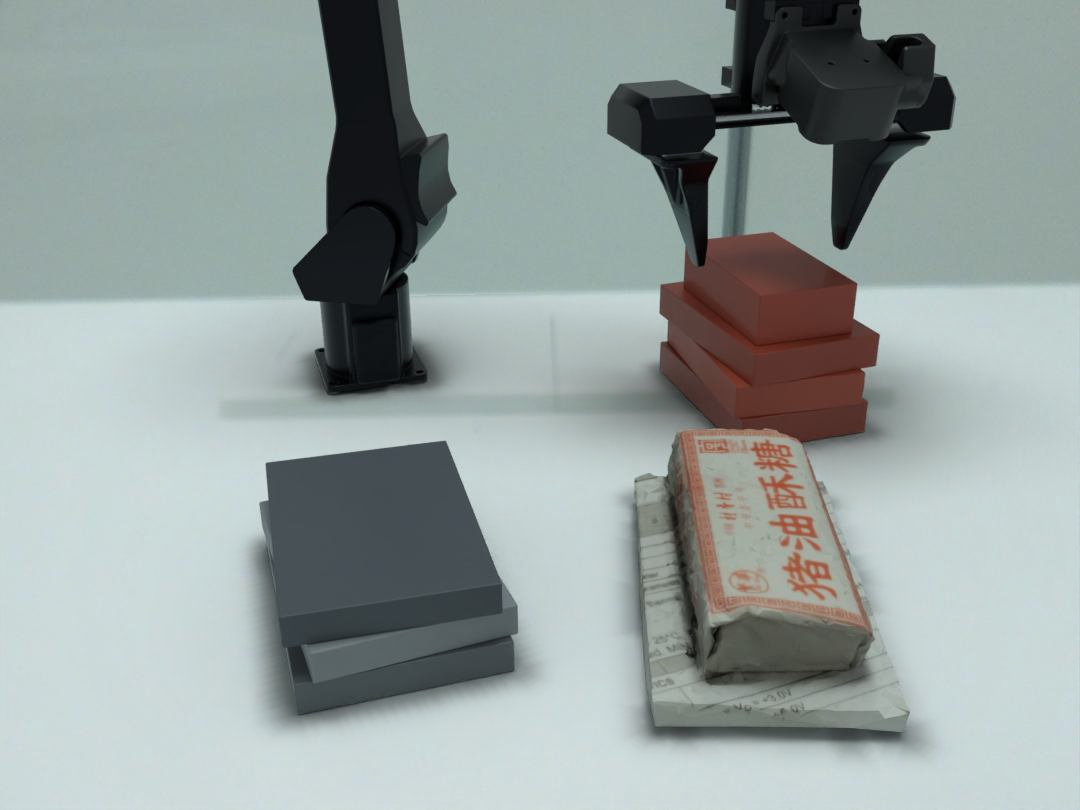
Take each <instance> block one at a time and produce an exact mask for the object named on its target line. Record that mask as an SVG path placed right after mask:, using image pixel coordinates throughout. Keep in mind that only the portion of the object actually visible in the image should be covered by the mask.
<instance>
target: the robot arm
mask: <svg viewBox="0 0 1080 810" xmlns="http://www.w3.org/2000/svg"><path fill="white" fill-rule="evenodd" d="M860 2H861V0H725V7H724V8H725V9H726V10H730V11H734V12H735V18H734V30H733V31H734V32H733V33H734V34H733V46H732V47H733V50H732V62H731V63H732V64H731V65H723V66H721V75H720V76H721V77H720V86H723V87H726V88H728V89H730V92H722V93H708V92H706V91H703V90H701V89H699V88H697V87H694V86H692V85H689V84H688V83H685V82H682V81H680V80H679V79H667V80H654V81H653V80H652V81H639V82H637V81H636V82H624V83H623V82H622V83H619V84H618V85H617V87H616V88H615V89H614V91H613V93H612V94H611V95H610V97H609V101H607V104H606V105H607V108H606V109H607V111H606V112H607V113H606V123H607V124H606V134H607V135H609V136H610V137H612V138H614V140H617V141H618V142H620V143H622V144H623V145H625V146H627V147H629V149H631V150H632V151H634V152H635V153H637V154H639V155H640V156H642V157H644V158H645V159H647V160H648V161H650V163H651V166H652V167H653V169H654V171H655V173H656V175H657V177H658V179H659V181H660V183H661V185H662V187H663V189H664V191H665V194H666V195H667V199H668V201H669V204H670V206H671V207H670V208H671V210H672V213H673V215H674V218H675V221H676V223H677V226H678V229H679V231H680V235H681V237H682V240H683V243H684V247H685V246H686V248H687V251H688V254H689V257H690V259H691V261H692V263H693V264H695V265H696V266H697V267H702V266H704V265H705V260H706V253H707V246H708V239H709V181H710V178H711V176H712V174H713V172H714V170H715V167H716V166H717V163H718V161H719V156H717V155H715V154H714V153H711V152H709V151H707V150H705V148H706V147H707V145H708V144H709V143H710V142H711V141H712V140H713V139H714V138H715V137H716V130H726V129H727V130H728V129H739V128H751V127H760V126H761V127H762V126H774V125H786V124H796V126H797V131H798V132H799V134H800V135H801V137H803V138H804V139H805V140H807V141H808V142H810V143H813V144H816V145H820V146H831V145H832V168H831V173H832V174H831V197H830V198H831V203H830V227H831V228H830V229H831V239H832V241H831V242H832V245H833V247H834V248H836V249H838V250H839V251H847V250H848V249H849V247H850V245H851V243H852V241H853V239H854V237H855V235H856V233H857V231H858V229H859V227H860V225H861V223H862V221H863V220H864V217H865V215H866V213H867V211H868V209H869V207H870V205H871V203H872V201H873V198H874V197H875V195H876V193H877V191H878V189H879V187H880V186H881V184H882V182H883V181H884V179H885V177H886V176H887V174H888V173H889V171H890V170H891V168H892V166H893V165H894V164H895V163H896V162H897V161H898V160H900V159H901V158H902V157H904V156H905V155H907V154H908V153H909V152H911V151H912V150H913V149H915V148H917V147H924V146H926V145H927V144H928V143H929V142H930V140H931V138H932V136H931V135H930V134H927V133H929V132H939V131H949V130H951V129H952V127H953V122H954V115H955V109H956V102H957V96H956V94H955V91H954V89H953V86H952V84H951V82H950V80H949V78H948V76H947V75H943V74H939V73H936V72H935V63H936V49H937V48H936V46H937V45H936V44H935V43H934V42H933V41H932V39H930V38H929V37H928V36H926V34H924V33H922V32H917V33H902V34H901V33H900V34H893V35H891V36H889V37H888V39H887V40H886V39H883V38H881V39H880V38H879V39H867V38H865V37H864V36H863V31H862V26H861V21H862V11H863V10H862V9H863V8H862V6H861V5H860ZM317 5H318V11H319V16H320V24H321V29H322V36H323V43H324V50H325V55H326V56H325V57H326V62H327V68H328V76H329V81H330V87H331V94H332V95H331V96H332V101H333V105H334V106H333V108H334V113H335V114H334V115H335V126H334V127H335V128H334V134H333V139H332V145H331V150H330V155H329V161H328V166H327V172H326V176H325V177H326V178H325V230H326V233H325V234H324V235H323V236H322V237H321V239H319V240H318V242H317V243H315V244H314V246H313V247H312V248H311V249H309V251H308V252H307V253H306V254H305V255H304V256H303V257H302V258H301V259H300V260H299V261H298V262H297V263H296V264H295V265H294V266H293V267H292V271H291V272H292V275H293V277H294V280H295V281H296V284H297V286H298V289H299V290H300V293H301V294H302V297H303V299H304V301H307V302H319V308H320V319H321V327H322V337H323V339H322V340H323V347H318V348H316V349H314V358H315V360H316V361H315V362H316V364H317V366H318V367H317V368H318V369H319V372H320V375H321V379H322V382H323V384H324V387H325V391H326V392H328V393H340V392H349V391H355V390H363V389H371V388H377V387H378V388H380V387H387V386H393V385H401V384H408V383H416V382H423V381H425V380H427V379H428V378H429V377H428V376H429V375H428V369H427V368H426V366H425V364H424V361H422V359H421V357H420V355H419V353H418V351H417V349H416V348H415V346H414V344H413V331H412V313H411V298H410V296H411V295H410V283H409V282H410V281H409V280H410V279H409V275H408V274H407V273H406V272H405V271H406V270H407V269H408V268H409V267H410V266H411V265H412V264H414V263H415V262H416V261H417V260H418V258H419V255H420V252H421V250H422V249H423V248H424V247H425V246H426V245H427V244H428V243H429V242H430V241H431V239H432V238H433V237H434V236H435V235H436V234H437V232H438V231H439V230H440V229H441V228H442V226H443V224H444V223H445V221H446V217H447V216H448V205H449V203H451V202H452V200H453V199H454V198H455V197H456V196H457V195H458V192H457V190H456V188H455V186H454V183H452V179H451V175H450V172H449V150H450V143H449V135H448V134H447V133H445V132H442V133H438V134H435V135H434V134H433V135H429V136H427V135H426V132H425V131H424V129H423V127H422V125H421V123H420V121H419V119H418V117H417V116H416V113H415V111H414V108H413V105H412V99H411V94H410V85H409V77H408V69H407V63H406V54H405V53H406V52H405V46H404V37H403V30H402V24H401V23H402V22H401V15H400V7H399V0H317ZM753 107H755V108H756V109H753ZM763 107H764V108H763ZM762 108H763V109H762ZM926 132H927V133H926Z"/></svg>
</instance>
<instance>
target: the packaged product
mask: <svg viewBox="0 0 1080 810" xmlns="http://www.w3.org/2000/svg"><path fill="white" fill-rule="evenodd" d="M633 483H634V485H633V496H634V501H635V505H636V524H637V525H636V526H637V529H636V530H637V550H638V552H637V553H638V561H639V563H638V564H639V594H640V610H641V611H640V612H641V624H642V625H641V626H642V640H643V652H644V654H643V655H644V667H645V681H646V689H647V695H648V700H649V703H650V708H651V713H652V714H651V715H652V719H653V724H654V727H754V728H755V727H761V728H764V727H766V728H831V729H833V728H834V729H835V728H836V729H837V728H839V729H840V728H841V729H859V730H872V731H883V732H884V731H885V732H893V733H894V732H895V733H903V732H904V729H905V728H906V724H907V723H908V719H909V717H910V714H911V710H910V709H909V706H908V704H907V702H906V700H905V697H904V694H903V691H902V689H901V685H900V680H899V677H898V674H897V672H896V670H895V668H894V667H895V666H894V665H893V662H892V660H891V658H890V656H889V655H888V652H887V649H886V646H885V643H884V641H883V638H882V635H881V632H880V628H879V626H878V623H877V621H876V617H875V615H874V612H873V610H872V606H871V603H870V601H869V599H868V596H867V594H866V590H865V588H864V586H863V581H862V579H861V576H860V574H859V571H858V568H857V567H856V566H855V565H854V564H853V563H852V561H851V551H850V549H849V546H848V544H847V541H846V538H845V536H844V535H845V534H844V532H843V530H842V528H841V526H840V524H839V522H838V518H837V514H836V512H835V508H834V507H833V503H832V501H831V498H830V496H829V493H828V489H827V488H826V485H825V483H824V481H823V480H819V481H817V479H816V475H815V472H814V468H813V466H812V464H811V461H810V458H809V457H808V452H807V450H806V448H805V446H804V445H803V444H802V442H800V441H798V440H797V439H796V438H793V437H790V436H788V435H786V434H782V433H779V432H778V431H777V430H772V429H766V428H765V429H763V430H754V429H744V430H736V429H730V430H727V429H718V428H706V429H704V428H703V429H691V428H689V429H687V428H686V429H681V430H678V431H676V433H675V437H674V441H673V443H672V444H671V453H670V455H669V458H668V463H667V474H666V475H665V476H663V475H656V474H655V475H654V474H652V473H651V472H647V473H644V474H642V475H639V476H637V477H634V481H633Z"/></svg>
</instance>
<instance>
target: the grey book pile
mask: <svg viewBox="0 0 1080 810" xmlns="http://www.w3.org/2000/svg"><path fill="white" fill-rule="evenodd" d="M264 466H265V476H266V477H265V478H266V487H267V499H268V500H262V501H259V504H258V505H259V512H260V519H261V528H262V531H263V534H264V537H265V542H266V548H267V555H268V559H269V565H270V570H271V576H272V582H273V588H274V593H275V598H276V608H277V609H276V610H277V620H278V627H279V628H278V629H279V634H280V635H279V636H280V643H281V647H282V648H283V649H285V655H286V660H287V665H288V671H289V675H290V676H289V677H290V682H291V688H292V695H293V700H294V704H295V710H296V714H297V715H299V716H300V715H305V714H309V713H313V712H318V711H323V710H327V709H332V708H338V707H343V706H347V705H352V704H357V703H361V702H366V701H371V700H376V699H381V698H385V697H390V696H391V697H392V696H397V695H401V694H405V693H406V694H407V693H411V692H415V691H420V690H425V689H430V688H434V687H435V688H436V687H439V686H445V685H449V684H454V683H460V682H464V681H468V680H474V679H478V678H483V677H488V676H492V675H497V674H503V673H507V672H512V671H515V642H514V640H513V637H512V636H515V635H517V634H518V633H519V611H518V604H517V601H516V600H515V599H514V597H513V596H512V594H511V592H510V590H509V589H508V588H507V585H506V584H505V582H504V581H503V580H502V578H501V576H500V574H499V573H498V570H497V568H496V565H495V562H494V560H493V557H492V555H491V551H490V550H489V547H488V544H487V542H486V540H485V537H484V534H483V532H482V528H481V526H480V524H479V520H478V519H477V516H476V514H475V511H474V509H473V506H472V504H471V500H470V499H469V496H468V493H467V491H466V489H465V485H464V483H463V480H462V477H461V474H460V473H459V471H458V470H459V469H458V467H457V465H456V463H455V460H454V457H453V455H452V452H451V449H450V447H449V443H448V442H447V440H438V441H430V442H421V443H414V444H406V445H398V446H390V447H382V448H381V447H380V448H374V449H365V450H356V451H349V452H342V453H341V452H340V453H333V454H324V455H317V456H315V455H314V456H310V457H308V456H307V457H301V458H300V457H299V458H291V459H284V460H277V461H276V460H275V461H269V462H268V461H267V462H265V465H264Z"/></svg>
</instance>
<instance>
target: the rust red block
mask: <svg viewBox="0 0 1080 810" xmlns="http://www.w3.org/2000/svg"><path fill="white" fill-rule="evenodd" d="M684 247H685V248H684V266H683V267H684V268H683V281H684V285H683V287H684V288H685V289H687V290H688V291H689V292H690V293H692V294H693V295H694V296H695V297H697V298H698V299H699V300H700V301H702V302H703V303H704V304H705V305H706V306H708V307H709V308H710V309H711V310H713V311H714V312H715V313H716V314H718V315H719V316H720V317H721V318H723V319H724V320H725V321H726V322H728V323H729V324H730V325H731V326H732V327H734V328H735V329H736V330H737V331H739V332H740V333H741V334H742V335H744V336H745V337H746V338H747V339H749V340H750V341H751V342H752V343H753V344H755V345H756V346H760V345H767V344H774V343H781V342H789V341H796V340H803V339H811V338H818V337H825V336H832V335H840V334H847V333H852V326H853V318H854V317H855V309H856V299H857V292H858V282H856V281H855V280H853V279H851V278H849V277H848V276H846V275H845V274H843V273H841V272H840V271H838V270H836V268H835V269H834V268H833V267H831V266H830V265H828V264H826V263H825V262H823V261H822V260H820V259H818V258H817V257H815V256H813V255H811V254H810V253H808V252H807V251H805V250H804V249H802V248H800V247H798V246H797V245H795V244H794V243H792V242H791V241H788V240H787V239H785V238H784V237H782V236H781V235H779V234H777V233H775V232H774V231H768V232H760V233H749V234H740V235H732V236H731V235H730V236H724V237H723V236H722V237H714V238H708V246H707V253H706V260H705V265H704V266H702V267H697V266H696V265H695V264H693V263H692V261H691V259H690V257H689V254H688V251H687V248H686V246H685V245H684ZM854 319H855V318H854Z"/></svg>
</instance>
